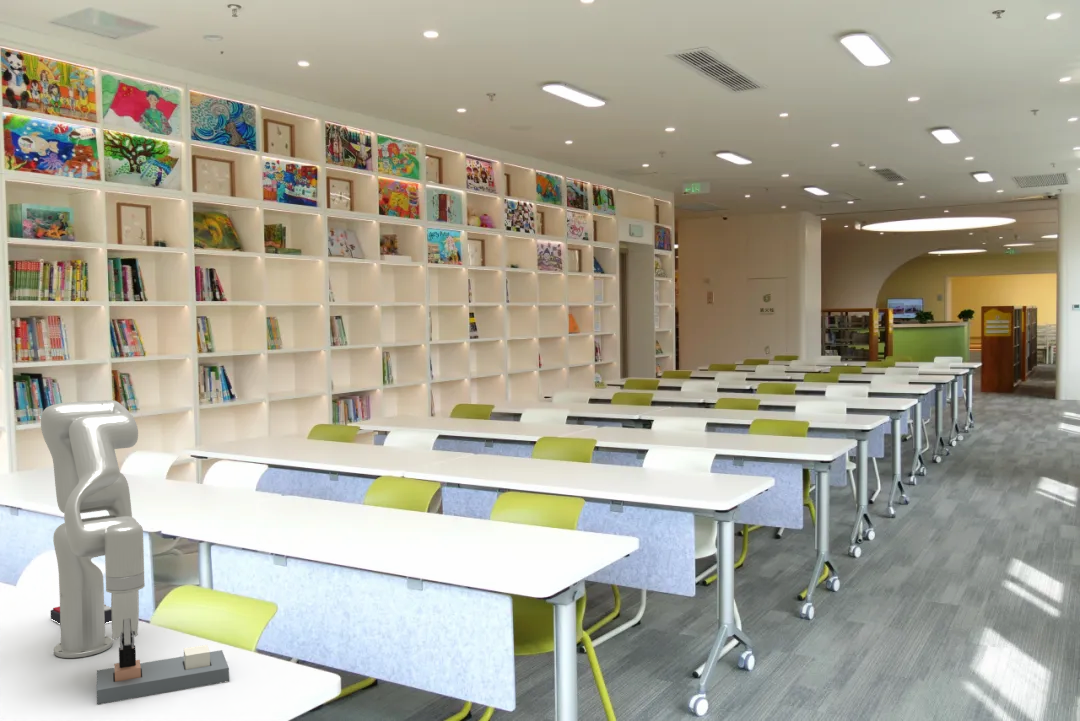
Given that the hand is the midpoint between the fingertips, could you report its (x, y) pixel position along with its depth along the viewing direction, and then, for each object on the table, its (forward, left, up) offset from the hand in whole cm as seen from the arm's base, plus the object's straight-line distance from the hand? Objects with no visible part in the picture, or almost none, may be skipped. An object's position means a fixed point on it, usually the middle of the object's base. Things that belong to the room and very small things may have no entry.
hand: (127, 665), depth 191 cm
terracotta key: (0, 0, -4) cm, 4 cm away
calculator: (-55, -10, -6) cm, 56 cm away
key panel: (0, +7, -5) cm, 9 cm away
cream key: (0, +14, -3) cm, 14 cm away
